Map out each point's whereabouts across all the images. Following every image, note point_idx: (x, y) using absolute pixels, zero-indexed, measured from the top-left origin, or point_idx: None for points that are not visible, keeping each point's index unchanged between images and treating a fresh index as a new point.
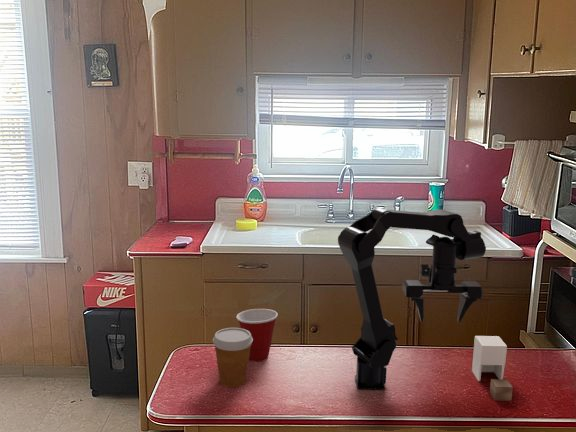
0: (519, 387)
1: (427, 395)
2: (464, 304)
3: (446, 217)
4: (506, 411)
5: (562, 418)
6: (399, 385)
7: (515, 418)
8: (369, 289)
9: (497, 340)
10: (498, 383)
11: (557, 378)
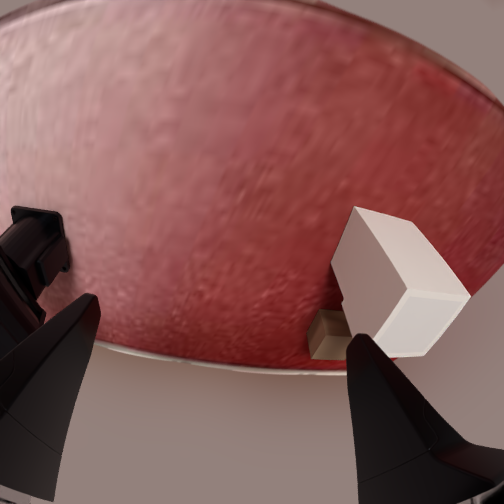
0: None
1: (161, 302)
2: (358, 497)
3: None
4: (300, 359)
5: None
6: (102, 253)
7: (299, 371)
8: None
9: (438, 326)
10: (326, 350)
11: (480, 271)
